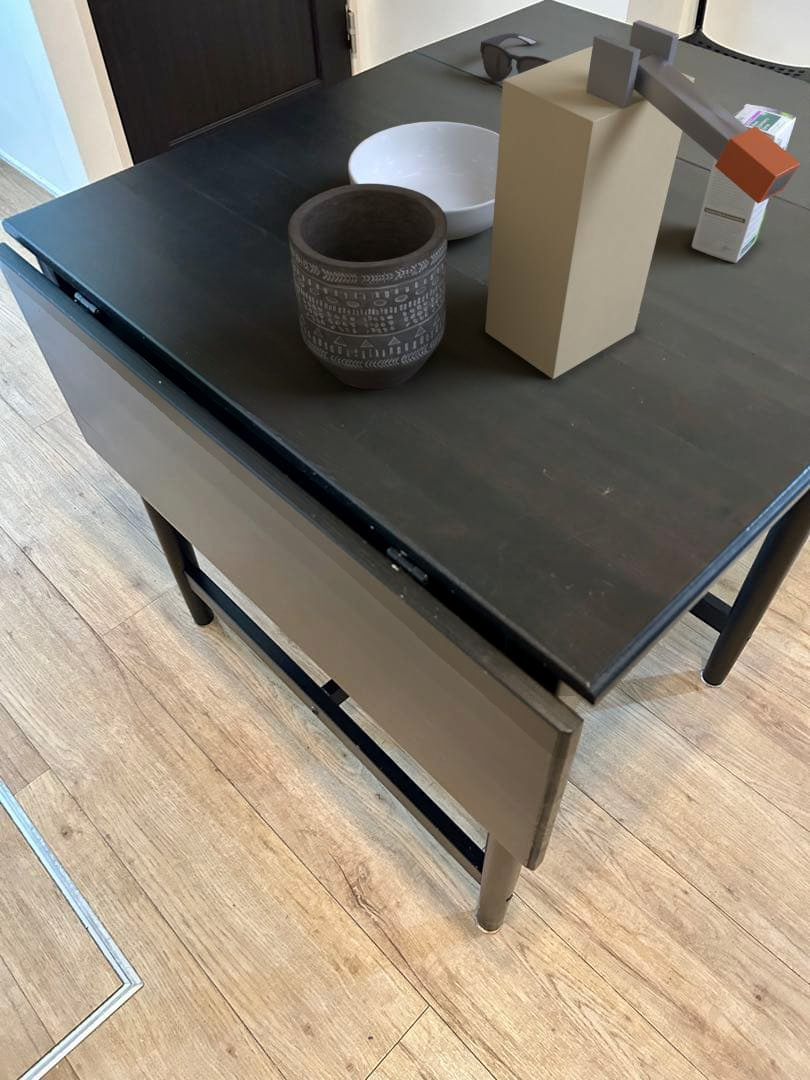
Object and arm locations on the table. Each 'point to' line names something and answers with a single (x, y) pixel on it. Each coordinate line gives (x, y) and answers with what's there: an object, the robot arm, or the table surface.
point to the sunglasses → (506, 57)
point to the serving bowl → (436, 169)
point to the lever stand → (578, 201)
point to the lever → (716, 130)
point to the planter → (370, 281)
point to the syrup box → (737, 195)
